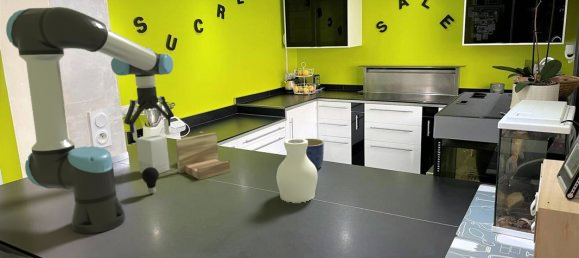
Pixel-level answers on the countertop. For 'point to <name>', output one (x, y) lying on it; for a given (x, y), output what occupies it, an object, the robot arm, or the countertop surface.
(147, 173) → the light bulb
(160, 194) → the countertop surface
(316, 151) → the planter
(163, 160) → the supplement box
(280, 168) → the vase
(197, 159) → the cleat board
